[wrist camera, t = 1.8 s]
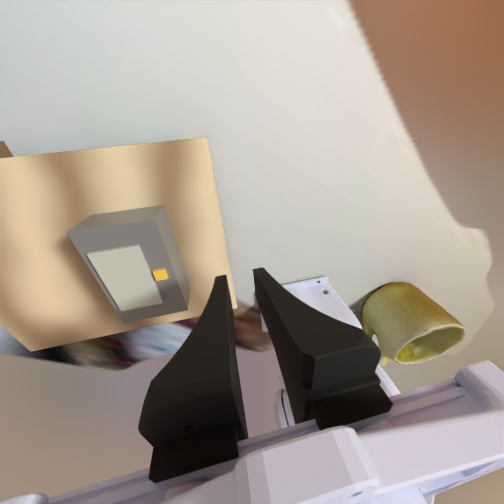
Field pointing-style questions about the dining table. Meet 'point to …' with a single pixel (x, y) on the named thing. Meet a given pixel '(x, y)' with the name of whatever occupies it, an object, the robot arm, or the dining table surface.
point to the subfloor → (81, 207)
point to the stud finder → (134, 261)
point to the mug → (409, 324)
